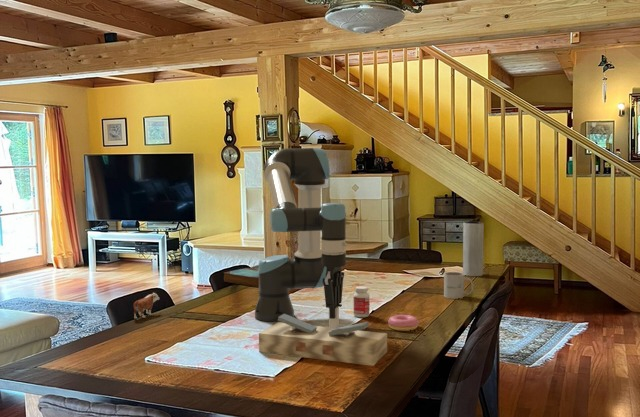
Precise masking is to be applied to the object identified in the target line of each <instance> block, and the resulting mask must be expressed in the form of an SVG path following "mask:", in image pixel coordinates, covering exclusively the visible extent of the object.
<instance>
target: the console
mask: <svg viewBox="0 0 640 417" xmlns="http://www.w3.org/2000/svg"><path fill="white" fill-rule="evenodd" d="M315 326H316V327H317V329H316V331H315V332H313V333H312V334H309V333H307V332H304V331H302V330H300V329H297V328H296V329H294V330H293V329H292V326H290V325H288V324H285V323H283V322H281V321H277V322H276V323H275V324H273V325H271V326H269V327H267V328H265V329H264V330H262V331H260V332H259V333H258V352H259V353H265V354H274V355H283V356H291V357H300V358H307V359H315V360H322V361H332V362H340V363H347V364H355V365H356V364H357V365H362V366H363V365H364V366H370V367H374V366H375V365H376V364H377V363H378V362H379V361H380V360H381V359H382V358H383V357H384V356H385V355H386V354H387V353H388V333H387V332H380V331H379V332H376V331H368V330H357V331H352V332H351V333H350V334H349V335H345V333H343V334H338V335H333V336H329V333H328V332H330V331H331V330H332V329H333V328H329V326H319V325H315Z"/></svg>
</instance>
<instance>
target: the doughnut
mask: <svg viewBox="0 0 640 417" xmlns="http://www.w3.org/2000/svg"><path fill="white" fill-rule="evenodd" d="M419 323H420V322H419V319H418V318H417V317H416V316H414V315H410V314H395V315H392V316H390V317H389V318H388V320H387V324H388V327H389V328H390V329H392V330H394V331H399V332H409V331H410V330H411V331H414V330H416V329H417V328H418V327H419ZM411 331H410V332H411Z"/></svg>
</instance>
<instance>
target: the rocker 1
mask: <svg viewBox="0 0 640 417" xmlns="http://www.w3.org/2000/svg"><path fill="white" fill-rule="evenodd" d="M277 322H281V323H285V324H288V325H290V326H292V329H293V330H294V329H296V328H297V329H300V330H302V331H304V332H307V333H309V334H312V333H313V332H315V331H316V329H317V327H316V326H317V325H313V324H311V323H308V322H307V321H303V320H300V319H299V318H297V317H295V316H294V317H291V316H289V315H287V314H283V315H281V316H279V317H278V321H277Z"/></svg>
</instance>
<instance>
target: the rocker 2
mask: <svg viewBox="0 0 640 417" xmlns="http://www.w3.org/2000/svg"><path fill="white" fill-rule="evenodd" d="M369 326H370V323H369V321H365V322H361V323H360V322H359V323H355V324H349V325H345V326H341V327H340V326H339V328H338V329H332V330H331V331H330V332H328V333H329V336H333V335H338V334H343V333H345V335H349V334H350V333H351V332H352V331H357V330H359V331H363V330H366V328H368V327H369Z"/></svg>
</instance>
